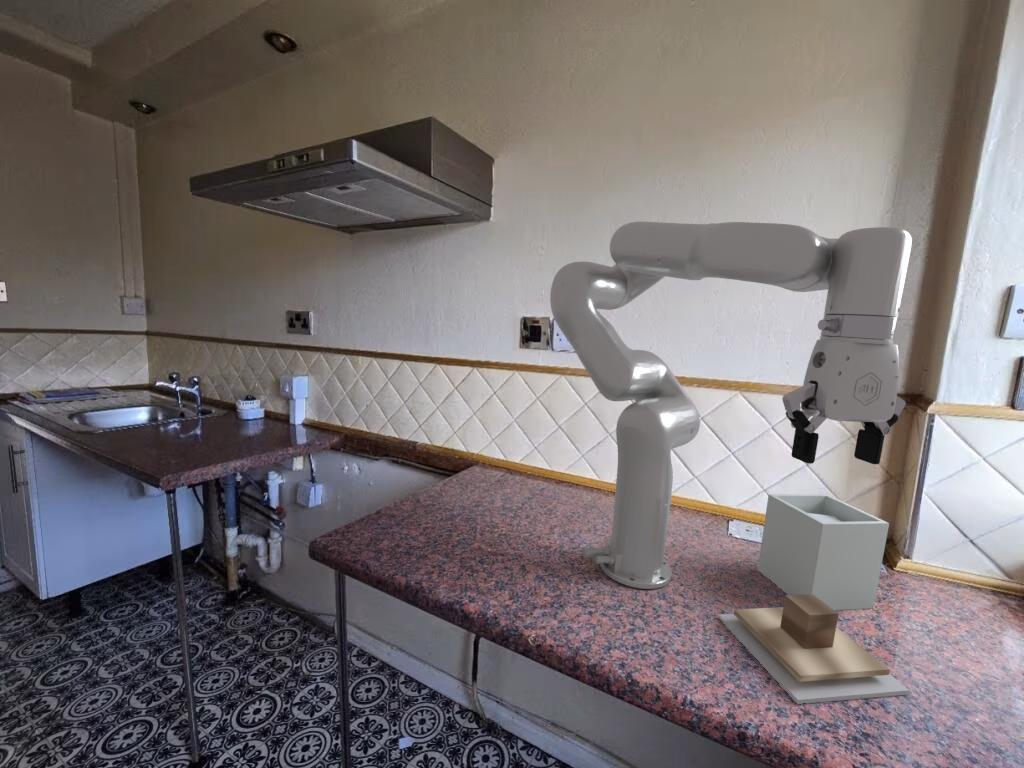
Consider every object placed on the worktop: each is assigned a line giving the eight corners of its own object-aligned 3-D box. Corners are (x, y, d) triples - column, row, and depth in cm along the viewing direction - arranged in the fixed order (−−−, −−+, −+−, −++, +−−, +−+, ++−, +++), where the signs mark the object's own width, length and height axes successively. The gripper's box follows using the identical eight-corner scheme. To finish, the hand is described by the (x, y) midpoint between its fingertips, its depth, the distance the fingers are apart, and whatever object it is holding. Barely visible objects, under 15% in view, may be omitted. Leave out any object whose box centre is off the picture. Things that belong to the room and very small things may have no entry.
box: (808, 611, 74) (823, 524, 72) (757, 570, 86) (768, 494, 83) (873, 608, 76) (889, 523, 74) (814, 568, 88) (826, 494, 85)
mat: (797, 704, 55) (797, 699, 55) (718, 618, 71) (718, 614, 71) (908, 694, 58) (909, 690, 58) (808, 613, 73) (809, 609, 73)
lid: (798, 688, 57) (806, 639, 56) (732, 620, 69) (738, 578, 68) (887, 681, 59) (896, 633, 58) (808, 616, 71) (814, 576, 70)
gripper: (821, 328, 53) (798, 469, 55) (945, 336, 55) (918, 471, 58) (775, 326, 60) (756, 451, 62) (886, 333, 63) (864, 453, 65)
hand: (834, 460), depth 60 cm, fingers open, 9 cm apart
